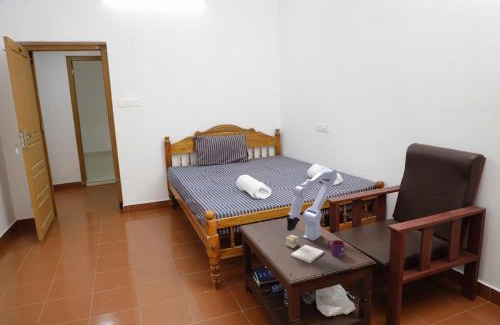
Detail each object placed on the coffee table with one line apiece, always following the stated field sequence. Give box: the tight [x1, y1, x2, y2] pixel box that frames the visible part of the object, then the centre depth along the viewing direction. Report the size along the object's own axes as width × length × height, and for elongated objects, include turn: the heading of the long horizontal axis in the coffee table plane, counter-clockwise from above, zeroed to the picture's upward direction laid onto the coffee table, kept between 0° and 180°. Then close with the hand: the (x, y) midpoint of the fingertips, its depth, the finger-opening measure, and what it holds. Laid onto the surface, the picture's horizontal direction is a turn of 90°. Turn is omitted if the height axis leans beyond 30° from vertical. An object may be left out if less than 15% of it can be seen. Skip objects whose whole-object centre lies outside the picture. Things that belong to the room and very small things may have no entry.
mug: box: [327, 239, 346, 258], centre depth 184 cm, size 7×10×7 cm
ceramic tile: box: [290, 244, 325, 264], centre depth 184 cm, size 14×12×1 cm
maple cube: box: [285, 234, 299, 249], centre depth 195 cm, size 5×5×5 cm
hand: (290, 230), depth 192 cm, fingers open, 7 cm apart
